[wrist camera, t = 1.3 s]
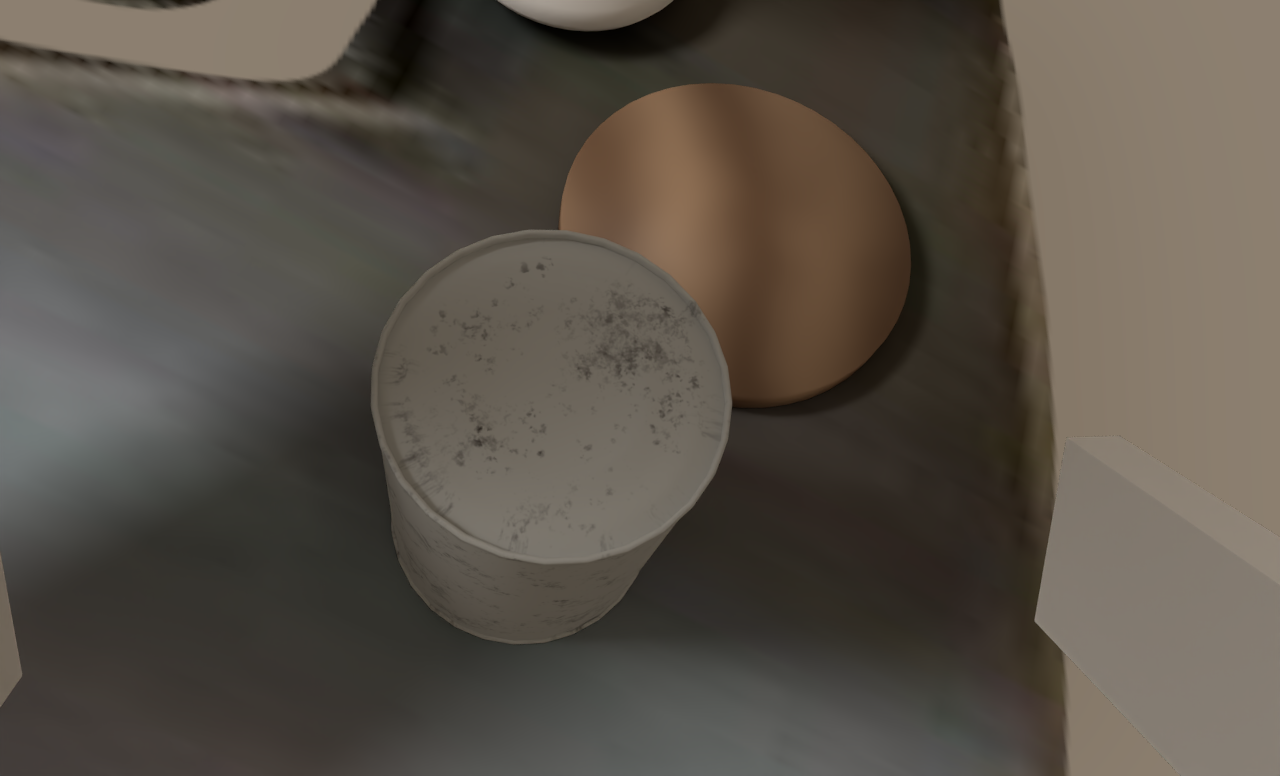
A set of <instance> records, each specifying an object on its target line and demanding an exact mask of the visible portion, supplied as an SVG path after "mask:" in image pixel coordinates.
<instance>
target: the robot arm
mask: <svg viewBox="0 0 1280 776" xmlns="http://www.w3.org/2000/svg"><path fill="white" fill-rule="evenodd" d="M1034 621H1035V622H1036V623H1037V624H1038V625H1039V627H1040V628H1041V629H1042V630H1043V631H1044V632H1045V633H1046V634H1047V635H1048V636H1049V637H1050V638H1051V639H1052V640H1053V641H1054V642H1055V643H1056V645H1057V646H1058V647H1059V648H1060V649H1061V650H1062V651H1063V652H1064V653H1065V654H1066V655H1067V656H1068V657H1069V658H1070V659H1071V660H1072V661H1073V663H1074V664H1075V665H1076V666H1077V667H1078V668H1079V669H1080V670H1081V671H1082V672H1083V673H1084V674H1085V675H1086V676H1087V677H1088V678H1089V679H1090V681H1091V682H1092V683H1093V684H1094V685H1095V686H1096V687H1097V688H1098V689H1099V690H1100V691H1101V692H1102V693H1103V694H1104V695H1105V696H1106V697H1107V699H1108V700H1109V701H1110V702H1111V703H1112V704H1113V705H1114V706H1115V707H1116V708H1117V709H1118V710H1119V711H1120V712H1121V713H1122V715H1123V716H1124V717H1125V718H1126V719H1127V720H1128V721H1129V722H1130V723H1131V724H1132V725H1133V726H1134V727H1135V728H1136V729H1137V730H1138V731H1139V732H1140V734H1141V735H1142V736H1143V737H1144V738H1145V739H1146V740H1147V741H1148V742H1149V743H1150V744H1151V745H1152V746H1153V747H1154V748H1155V750H1156V751H1157V752H1158V753H1159V754H1160V755H1161V756H1162V757H1163V758H1164V759H1165V760H1166V761H1167V762H1168V763H1169V764H1170V765H1171V766H1172V768H1174V770H1175V771H1176V772H1177V773H1178V774H1179V775H1180V776H1280V537H1279V536H1277V535H1276V534H1274V533H1273V532H1271V531H1270V530H1268V529H1267V528H1265V527H1263V526H1262V525H1260V524H1259V523H1257V522H1256V521H1254V520H1252V519H1251V518H1249V517H1247V516H1246V515H1244V514H1243V513H1241V512H1240V511H1238V510H1237V509H1235V508H1233V507H1232V506H1230V505H1228V504H1227V503H1225V502H1224V501H1222V500H1221V499H1219V498H1217V497H1216V496H1214V495H1213V494H1211V493H1209V492H1208V491H1206V490H1205V489H1203V488H1202V487H1200V486H1199V485H1197V484H1195V483H1194V482H1192V481H1191V480H1189V479H1188V478H1186V477H1184V476H1183V475H1181V474H1180V473H1178V472H1177V471H1175V470H1173V469H1172V468H1170V467H1169V466H1167V465H1165V464H1164V463H1162V462H1161V461H1159V460H1158V459H1156V458H1154V457H1153V456H1151V455H1150V454H1148V453H1146V452H1145V451H1143V450H1142V449H1140V448H1139V447H1137V446H1135V445H1134V444H1132V443H1131V442H1129V441H1128V440H1126V439H1124V438H1123V437H1121V436H1094V437H1066V443H1065V448H1064V454H1063V460H1062V465H1061V472H1060V477H1059V483H1058V488H1057V494H1056V500H1055V506H1054V511H1053V517H1052V523H1051V529H1050V534H1049V540H1048V546H1047V551H1046V557H1045V563H1044V569H1043V574H1042V580H1041V586H1040V592H1039V597H1038V603H1037V609H1036V615H1035V620H1034ZM21 677H22V670H21V664H20V659H19V653H18V647H17V642H16V636H15V631H14V625H13V620H12V614H11V609H10V603H9V598H8V592H7V586H6V581H5V575H4V570H3V564H2V559H1V553H0V707H1V706H2V704H3V703H4V701H5V700H6V698H7V697H8V696H9V694H10V693H11V691H12V690H13V688H14V687H15V686H16V684H17V683H18V681H19V680H20V678H21Z"/></svg>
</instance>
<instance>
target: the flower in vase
mask: <svg viewBox="0 0 1280 776" xmlns="http://www.w3.org/2000/svg"><path fill="white" fill-rule="evenodd" d="M497 1H498V2H499V3H501V4H502V5H504V6H505V7H507V8H508V9H510V10H512V11H514V12H515V13H517V14H519V15H521V16H523V17H525V18H528V19H530V20H533V21H535V22H538V23H541V24H544V25H547V26H551V27H555V28H560V29H566V30H575V31H604V30H612V29H617V28H621V27H625V26H628V25H631V24H634V23H636V22H639V21H641V20H643V19H645V18H647V17H649V16H651V15H653V14H655V13H657V12H659V11H660V10H662V9H663V8H664V7H666V6H667V5H668V4H670V3H671V2H672V1H673V0H497Z"/></svg>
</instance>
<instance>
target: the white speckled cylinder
mask: <svg viewBox="0 0 1280 776" xmlns="http://www.w3.org/2000/svg"><path fill="white" fill-rule="evenodd" d="M731 410H732V397H731V388H730V380H729V372H728V366H727V363H726V360H725V358H724V355H723V352H722V349H721V347H720V344H719V341H718V338H717V336H716V333H715V331H714V329H713V328H712V326H711V325H710V323H709V321H708V320H707V318H706V317H705V315H704V314H703V312H702V310H701V309H700V307H699V306H698V304H697V303H696V301H695V300H694V299H693V298H692V297H691V296H690V295H689V294H688V293H687V292H686V291H685V290H684V289H683V288H682V287H681V286H680V285H679V283H678V282H677V281H676V280H675V279H674V278H673V277H672V276H671V275H670V274H668V273H667V272H665V271H664V270H662V269H661V268H660V267H658V266H657V265H655V264H654V263H652V262H651V261H649V260H648V259H646V258H645V257H643V256H642V255H641V254H639V253H637V252H635V251H632V250H630V249H628V248H625V247H623V246H621V245H618V244H616V243H614V242H611V241H609V240H607V239H604V238H600V237H595V236H590V235H586V234H581V233H577V232H572V231H567V230H525V231H519V232H513V233H508V234H502V235H497V236H492V237H489V238H487V239H484V240H482V241H479V242H477V243H474V244H472V245H469V246H467V247H464V248H462V249H459V250H457V251H455V252H454V253H452V254H451V255H450V256H448V257H447V258H445V259H444V260H442V261H441V262H439V263H438V264H436V265H435V266H433V267H432V268H430V269H429V270H427V271H426V272H425V273H424V274H423V275H422V276H421V277H420V278H419V279H418V280H417V282H416V283H415V284H414V285H413V286H412V287H411V288H410V289H409V290H408V291H407V292H406V293H405V294H404V296H403V297H402V298H401V299H400V300H399V302H398V304H397V306H396V307H395V309H394V311H393V313H392V314H391V316H390V318H389V320H388V322H387V323H386V325H385V327H384V329H383V330H382V332H381V336H380V340H379V343H378V347H377V351H376V354H375V358H374V361H373V365H372V369H371V411H372V415H373V419H374V424H375V428H376V432H377V436H378V441H379V445H380V449H381V451H382V457H383V463H384V470H385V476H386V482H387V489H388V495H389V502H390V508H391V532H392V536H393V540H394V545H395V549H396V553H397V558H398V561H399V563H400V565H401V567H402V569H403V571H404V573H405V575H406V577H407V579H408V581H409V583H410V585H411V587H412V588H413V589H414V590H415V591H416V592H417V594H418V595H419V596H420V597H421V598H422V599H423V601H424V602H425V603H426V604H427V605H428V607H429V608H430V609H431V610H432V611H434V612H435V613H437V614H438V615H439V616H441V617H442V618H443V619H445V620H446V621H447V622H449V623H450V624H452V625H453V626H454V627H456V628H458V629H461V630H463V631H465V632H468V633H470V634H472V635H475V636H477V637H479V638H482V639H485V640H491V641H497V642H502V643H508V644H532V643H545V642H549V641H552V640H556V639H559V638H563V637H566V636H569V635H573V634H575V633H577V632H578V631H580V630H582V629H584V628H586V627H587V626H589V625H591V624H593V623H594V622H596V621H598V620H600V619H601V618H602V617H603V616H604V615H605V614H606V613H607V612H608V611H609V610H611V609H612V608H613V607H614V606H615V605H616V604H617V603H618V602H619V601H620V600H621V599H622V598H623V596H624V595H625V593H626V592H627V590H628V589H629V587H630V586H631V585H632V583H633V582H634V580H635V579H636V577H637V576H638V573H639V571H640V570H641V569H642V567H643V566H644V565H645V563H646V562H647V561H648V559H649V558H650V557H651V555H652V554H653V553H654V551H655V550H656V549H657V548H658V546H659V545H660V544H661V542H662V541H663V540H664V538H665V537H666V536H667V534H668V533H669V532H670V530H671V529H672V528H673V527H674V525H675V524H676V523H677V521H678V520H679V519H680V518H682V517H683V516H684V515H685V514H686V513H687V512H688V511H689V510H691V509H692V508H693V506H694V505H695V503H696V502H697V501H698V499H699V498H700V496H701V495H702V493H703V492H704V490H705V489H706V487H707V486H708V484H709V483H710V481H711V480H712V479H713V477H714V476H715V474H716V471H717V468H718V466H719V463H720V460H721V458H722V455H723V452H724V450H725V447H726V444H727V441H728V436H729V428H730V419H731Z"/></svg>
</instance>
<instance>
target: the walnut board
mask: <svg viewBox="0 0 1280 776" xmlns="http://www.w3.org/2000/svg"><path fill="white" fill-rule="evenodd" d="M558 230H567V231H572V232H577V233H581V234H586V235H590V236H595V237H600V238H604V239H607V240H609V241H611V242H614V243H616V244H618V245H621V246H623V247H625V248H628V249H630V250H632V251H635V252H637V253H639V254H641V255H642V256H643V257H645V258H646V259H648V260H649V261H651V262H652V263H654V264H655V265H657V266H658V267H660V268H661V269H662V270H664V271H665V272H667V273H668V274H670V275H671V276H672V277H673V278H674V279H675V280H676V281H677V282H678V283H679V285H680V286H681V287H682V288H683V289H684V290H685V291H686V292H687V293H688V294H689V295H690V296H691V297H692V298H693V299H694V300H695V301H696V303H697V304H698V306H699V307H700V309H701V310H702V312H703V314H704V315H705V317H706V318H707V320H708V321H709V323H710V325H711V326H712V328H713V329H714V331H715V333H716V336H717V338H718V341H719V344H720V347H721V349H722V352H723V355H724V358H725V360H726V363H727V366H728V372H729V380H730V388H731V397H732V407H737V408H767V407H774V406H782V405H788V404H792V403H795V402H799V401H803V400H806V399H810V398H812V397H814V396H817V395H819V394H821V393H823V392H826V391H828V390H830V389H832V388H833V387H835V386H836V385H838V384H840V383H841V382H843V381H845V380H846V379H847V378H849V377H850V376H851V375H852V374H853V373H855V372H856V371H857V370H858V369H859V368H860V367H862V366H863V365H864V363H865V362H866V361H867V360H868V359H869V358H870V357H871V356H872V355H873V353H874V352H875V351H876V350H877V349H878V348H879V347H880V345H881V344H882V343H883V342H884V341H885V340H886V338H887V337H888V335H889V334H890V332H891V330H892V329H893V327H894V326H895V324H896V322H897V320H898V318H899V315H900V313H901V311H902V308H903V306H904V304H905V300H906V296H907V292H908V288H909V282H910V271H911V253H910V242H909V237H908V232H907V226H906V223H905V220H904V217H903V214H902V211H901V208H900V205H899V203H898V201H897V199H896V197H895V195H894V193H893V190H892V188H891V186H890V185H889V183H888V182H887V180H886V179H885V177H884V175H883V174H882V172H881V171H880V169H879V168H878V167H877V165H876V164H875V163H874V162H873V160H872V159H871V158H870V157H869V155H868V154H867V153H866V152H865V151H864V150H863V149H862V148H861V147H860V146H859V145H858V144H857V143H856V142H855V141H854V140H853V139H852V138H851V137H850V136H849V135H847V134H846V133H845V132H844V131H842V130H841V129H840V128H839V127H837V126H836V125H835V124H834V123H832V122H831V121H829V120H827V119H826V118H824V117H823V116H821V115H820V114H818V113H817V112H815V111H813V110H811V109H809V108H807V107H805V106H803V105H801V104H799V103H797V102H795V101H793V100H790V99H788V98H785V97H782V96H780V95H777V94H774V93H771V92H767V91H763V90H760V89H756V88H751V87H745V86H739V85H733V84H716V83H708V84H690V85H684V86H679V87H673V88H668V89H665V90H662V91H658V92H655V93H652V94H649V95H647V96H645V97H642V98H640V99H638V100H636V101H633V102H631V103H630V104H628V105H626V106H625V107H623V108H622V109H620V110H618V111H617V112H615V113H614V114H613V115H612V116H610V117H609V118H608V119H607V120H606V121H604V122H603V123H602V124H601V125H600V126H599V127H598V128H597V129H596V130H595V131H594V132H593V134H592V135H591V136H590V137H589V138H588V139H587V140H586V142H585V144H584V145H583V147H582V148H581V150H580V151H579V153H578V154H577V156H576V158H575V160H574V162H573V165H572V167H571V169H570V172H569V174H568V177H567V181H566V184H565V188H564V192H563V196H562V202H561V207H560V214H559V224H558Z"/></svg>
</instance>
